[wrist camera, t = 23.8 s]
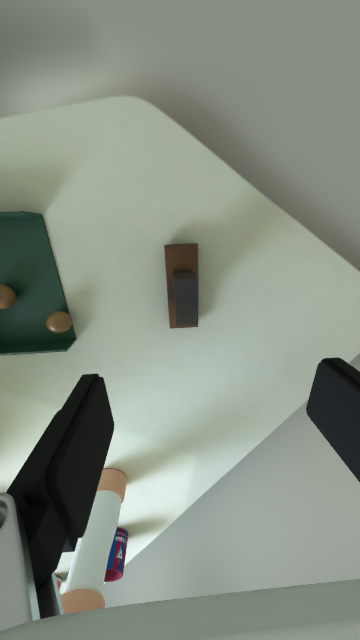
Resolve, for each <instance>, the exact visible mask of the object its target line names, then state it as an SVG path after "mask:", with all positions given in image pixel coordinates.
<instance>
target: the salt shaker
mask: <svg viewBox="0 0 360 640" xmlns="http://www.w3.org/2000/svg"><path fill="white" fill-rule="evenodd" d="M126 483H127V477H126V475H125V474H124V473H122V472H121V471H119V470H115V469H103V471H102V474H101V478H100V481H99V485H98V489H97V492H96V496H95V499H94V503H93V507H92V510H91V514H90V517H89V521H88V524H87V528H86V531H85V534H84V536H83V537H82V538H78V542H77V545H76V550H75V554H74V557H73V560H72V564H71V567H70V571H69V574H68V578H67V581H66V585H65V588H64V592H63V594H62V595H61V596H60V597H61V601H62V606H63V610H64V614H67V613H73V612H81V611H88V610H95V609H102V608H105V602H104V597H103V596H102V595H101V594H102V589H103V584H104V578H105V573H106V568H107V563H108V557H109V553H110V549H111V546H112V542H113V539H114V535H115V532H116V529H117V525H118V520H119V514H120V507H121V503H122V502H123V500H124V495H125V489H126Z"/></svg>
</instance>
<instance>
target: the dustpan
mask: <svg viewBox="0 0 360 640" xmlns="http://www.w3.org/2000/svg"><path fill="white" fill-rule="evenodd" d="M0 285H6V286H8V287H10V288H12V289H13V290H14V291H15V293H16V296H17V299H16V302H15V303H14V305H12V306H11V307H9V308H4V309H0V355H16V354H32V353H47V352H63V351H67V350H68V349H69V348H70V347H71V346H72V344H73V343H74V342H75V341H76V337H75V333H74V330H73V326H72V324H71V327H70V328H69V329H68V330H67V331H66V332H63V333H54V332H52V331H50V330H49V329H48V328H47V326H46V318H47V316H48V315H49V314H50V313H52V312H54V311H64V312H66V313H67V314H69V311H68V308H67V304H66V300H65V297H64V293H63V290H62V286H61V282H60V279H59V275H58V271H57V268H56V264H55V260H54V257H53V253H52V249H51V246H50V242H49V239H48V235H47V231H46V228H45V224H44V220H43V217H42V214H36V213H30V212H24V211H22V212H0Z"/></svg>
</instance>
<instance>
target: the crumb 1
mask: <svg viewBox="0 0 360 640" xmlns="http://www.w3.org/2000/svg"><path fill="white" fill-rule="evenodd" d="M16 299H17V296H16V293H15V291H14V290H13V289H12V288H10V287H8V286H6V285H0V309H4V308H9V307H11V306H12V305H14V303H15V302H16Z"/></svg>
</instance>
